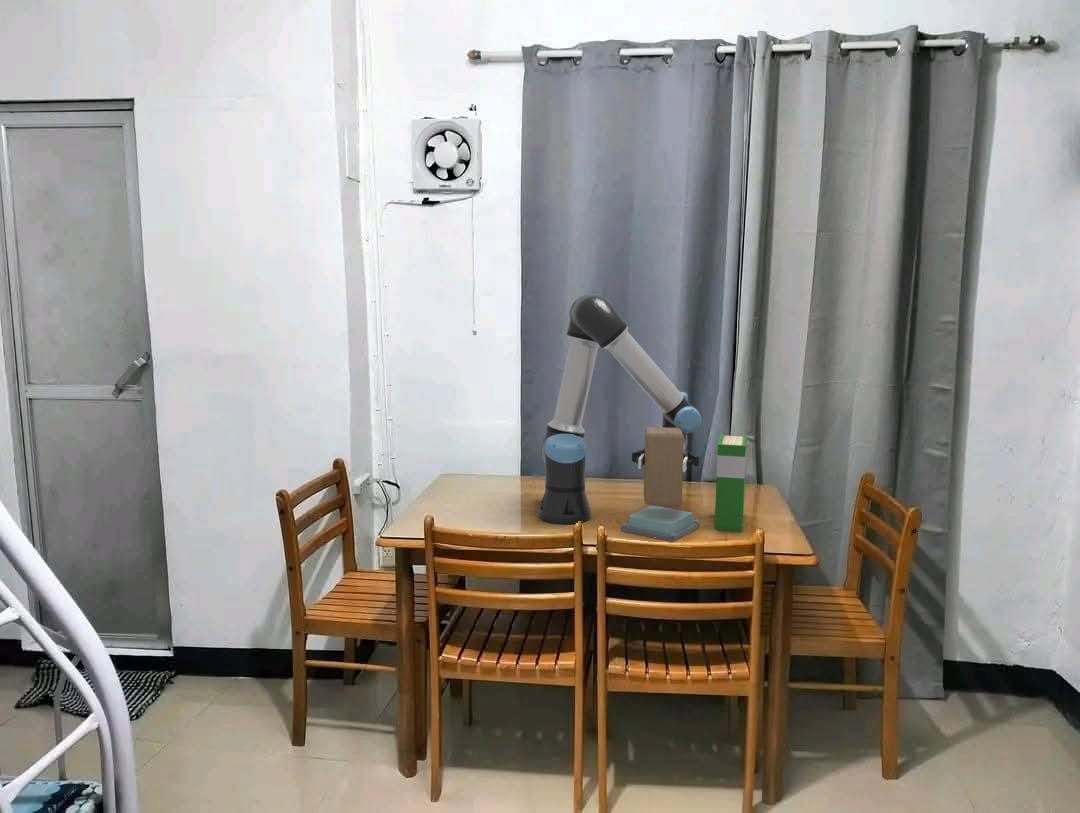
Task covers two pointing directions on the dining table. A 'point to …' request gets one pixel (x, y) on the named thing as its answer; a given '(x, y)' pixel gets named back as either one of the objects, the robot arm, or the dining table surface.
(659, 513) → the base plate
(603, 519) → the dining table surface
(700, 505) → the dining table surface
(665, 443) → the wooden block
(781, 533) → the dining table surface
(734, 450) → the hardback book
